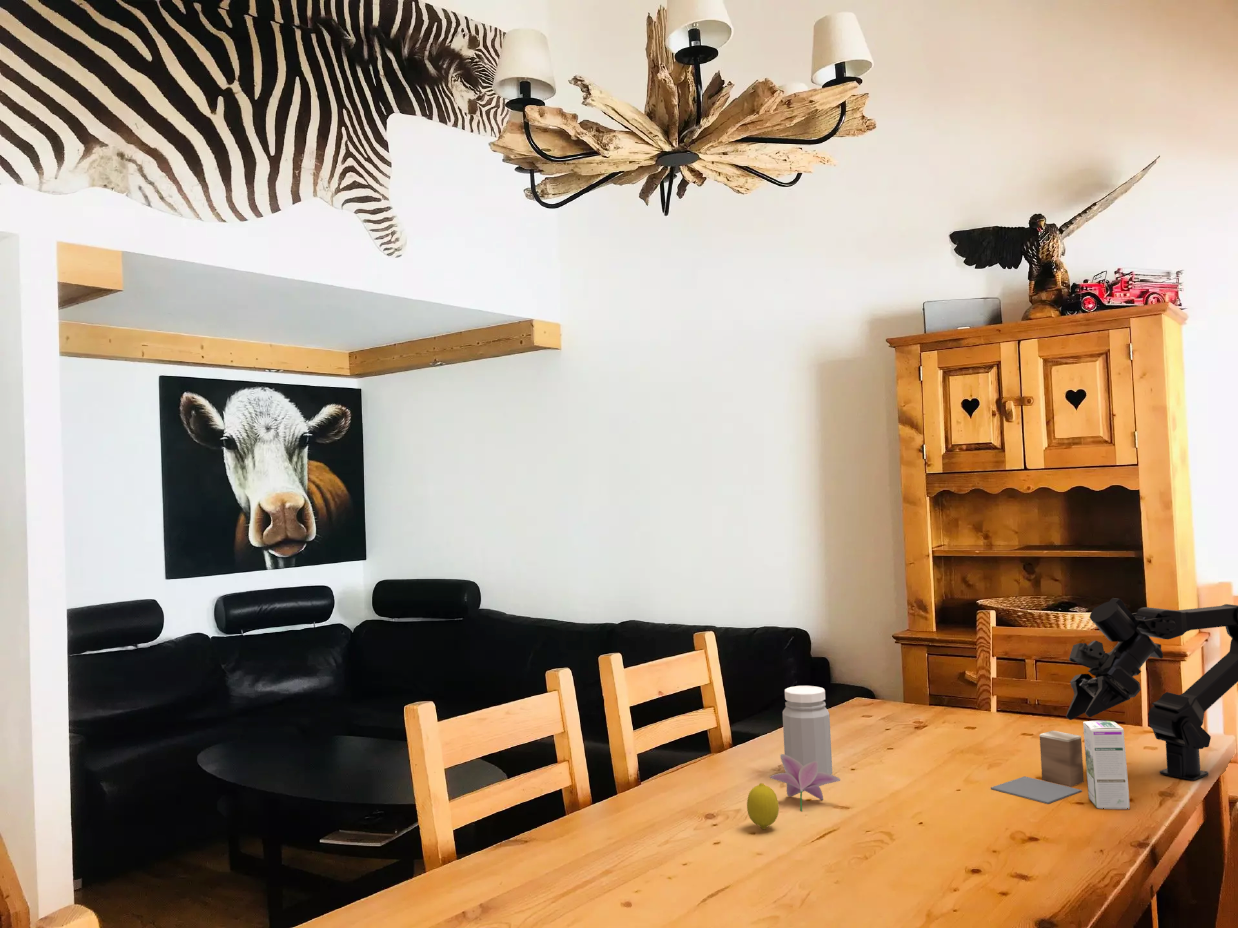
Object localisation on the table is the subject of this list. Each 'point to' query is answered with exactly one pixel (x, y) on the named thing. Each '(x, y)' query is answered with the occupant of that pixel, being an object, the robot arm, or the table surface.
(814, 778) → the lily
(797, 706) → the jar
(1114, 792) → the syrup box
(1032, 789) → the rubber mat
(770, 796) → the lemon
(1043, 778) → the walnut block
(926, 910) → the table surface
